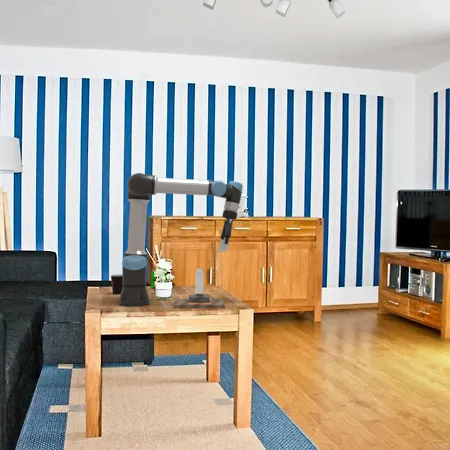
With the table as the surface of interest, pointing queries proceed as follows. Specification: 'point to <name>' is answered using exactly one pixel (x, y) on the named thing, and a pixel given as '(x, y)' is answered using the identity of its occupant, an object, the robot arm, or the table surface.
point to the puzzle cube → (155, 279)
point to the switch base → (214, 304)
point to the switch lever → (199, 282)
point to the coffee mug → (117, 283)
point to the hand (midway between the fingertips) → (222, 251)
